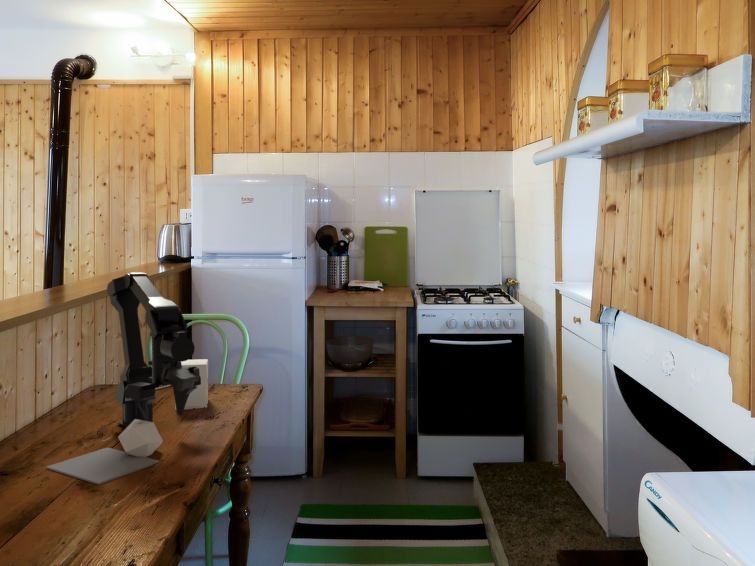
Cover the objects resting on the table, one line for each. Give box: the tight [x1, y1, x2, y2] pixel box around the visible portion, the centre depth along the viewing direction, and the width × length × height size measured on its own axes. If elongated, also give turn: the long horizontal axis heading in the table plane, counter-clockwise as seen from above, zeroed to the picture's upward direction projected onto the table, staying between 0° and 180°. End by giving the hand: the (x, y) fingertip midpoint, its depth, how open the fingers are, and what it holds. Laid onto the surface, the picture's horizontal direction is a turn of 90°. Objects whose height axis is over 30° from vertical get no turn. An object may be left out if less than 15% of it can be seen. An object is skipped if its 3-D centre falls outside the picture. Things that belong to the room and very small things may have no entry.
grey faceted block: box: [117, 419, 164, 458], centre depth 139 cm, size 8×9×10 cm
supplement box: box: [174, 358, 209, 411], centre depth 175 cm, size 9×9×15 cm
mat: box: [45, 447, 160, 486], centre depth 131 cm, size 18×15×1 cm
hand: (165, 419), depth 146 cm, fingers open, 9 cm apart
